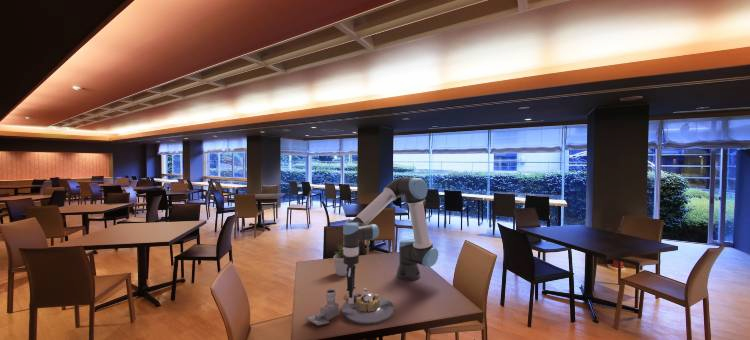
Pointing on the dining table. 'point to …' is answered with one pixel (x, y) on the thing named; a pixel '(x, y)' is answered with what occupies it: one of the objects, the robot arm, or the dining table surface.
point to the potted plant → (340, 263)
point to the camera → (326, 310)
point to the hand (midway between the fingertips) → (351, 303)
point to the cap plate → (370, 317)
